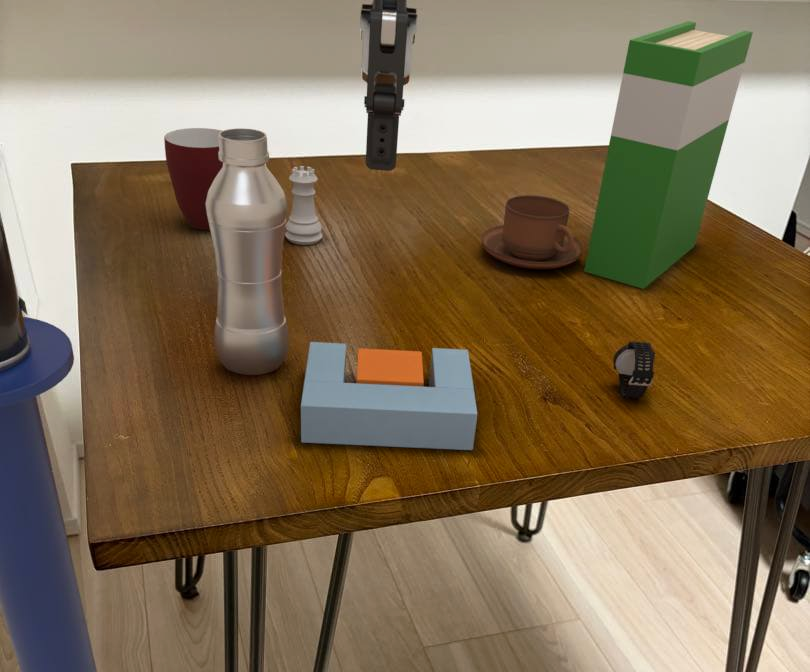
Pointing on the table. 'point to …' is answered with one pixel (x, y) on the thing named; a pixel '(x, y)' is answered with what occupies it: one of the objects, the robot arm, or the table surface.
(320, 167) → the table surface
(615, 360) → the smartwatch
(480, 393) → the table surface
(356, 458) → the table surface
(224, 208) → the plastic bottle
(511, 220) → the cup and saucer
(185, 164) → the mug
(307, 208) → the rook chess piece
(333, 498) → the table surface
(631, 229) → the hardback book
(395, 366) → the orange block
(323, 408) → the light blue u-shaped block
